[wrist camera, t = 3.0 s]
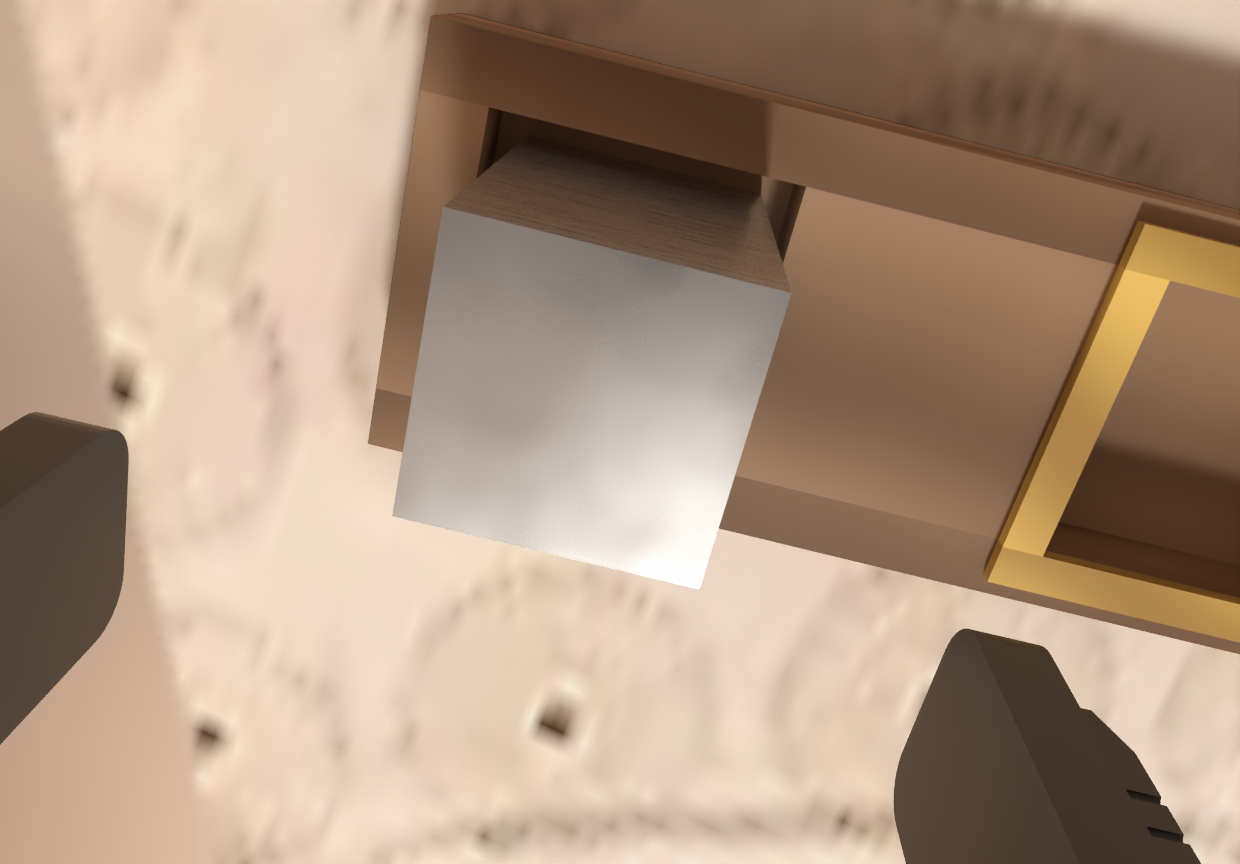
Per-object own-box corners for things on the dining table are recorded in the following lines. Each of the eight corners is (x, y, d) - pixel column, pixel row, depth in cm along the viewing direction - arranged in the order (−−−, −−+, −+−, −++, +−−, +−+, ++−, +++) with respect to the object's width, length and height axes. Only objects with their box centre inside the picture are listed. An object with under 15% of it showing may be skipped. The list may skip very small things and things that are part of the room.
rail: (461, 13, 19) (426, 16, 17) (1478, 270, 20) (1588, 309, 17) (400, 399, 22) (363, 450, 20) (1278, 612, 23) (1348, 687, 21)
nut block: (527, 135, 19) (442, 206, 13) (760, 193, 19) (791, 293, 13) (485, 356, 21) (392, 515, 15) (699, 409, 21) (699, 589, 15)
